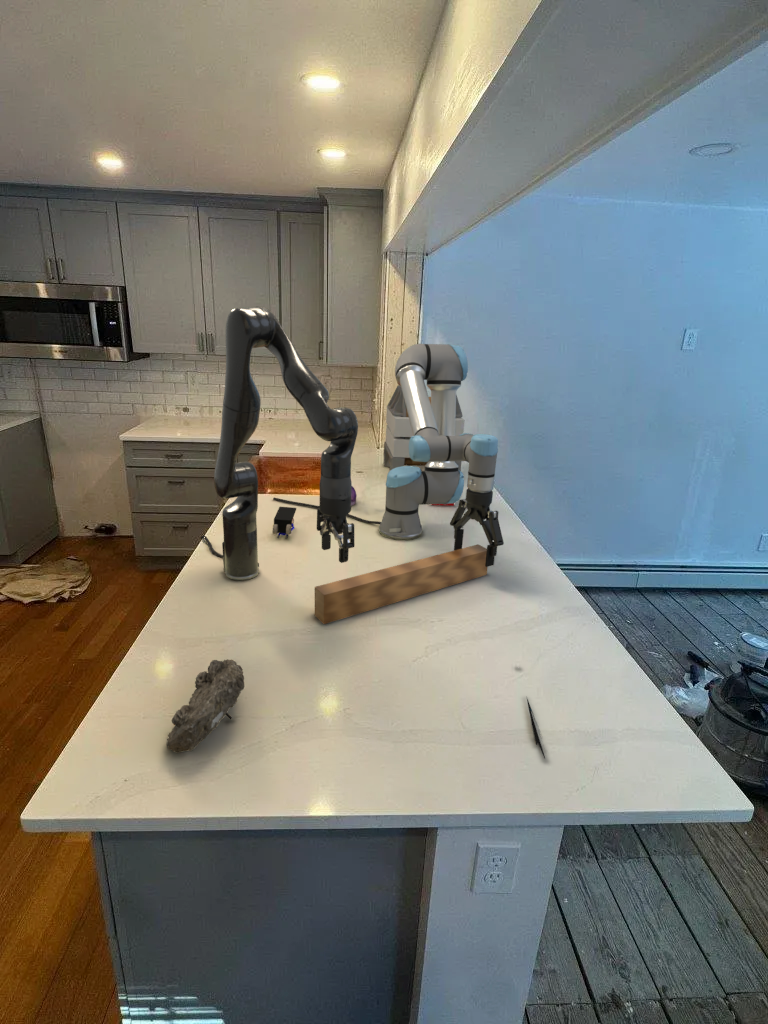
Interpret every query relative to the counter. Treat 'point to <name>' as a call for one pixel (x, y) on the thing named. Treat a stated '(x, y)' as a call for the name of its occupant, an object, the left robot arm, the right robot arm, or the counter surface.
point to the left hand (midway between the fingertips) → (334, 555)
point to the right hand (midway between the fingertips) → (473, 557)
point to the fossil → (206, 705)
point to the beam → (398, 583)
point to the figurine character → (284, 521)
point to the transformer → (406, 432)
